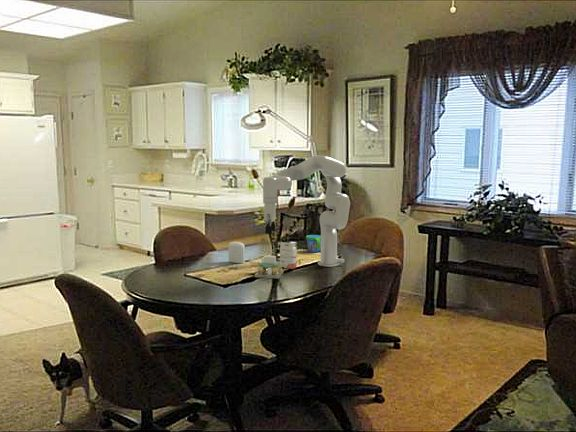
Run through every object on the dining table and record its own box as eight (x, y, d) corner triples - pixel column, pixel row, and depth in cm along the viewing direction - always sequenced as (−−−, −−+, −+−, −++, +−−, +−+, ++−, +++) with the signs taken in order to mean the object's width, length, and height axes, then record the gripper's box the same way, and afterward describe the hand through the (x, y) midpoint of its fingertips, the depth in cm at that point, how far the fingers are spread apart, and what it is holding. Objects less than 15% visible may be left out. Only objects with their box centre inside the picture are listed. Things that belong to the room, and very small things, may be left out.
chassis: (260, 270, 312) (260, 258, 311) (283, 272, 310) (283, 259, 309) (255, 277, 298) (255, 264, 297) (279, 278, 296) (279, 265, 295)
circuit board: (263, 261, 310) (263, 253, 309) (280, 262, 308) (280, 254, 307) (258, 266, 298) (258, 258, 297) (276, 267, 296) (276, 259, 296)
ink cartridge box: (296, 267, 321) (297, 242, 319) (292, 269, 317) (293, 243, 315) (283, 265, 325) (283, 240, 323) (279, 267, 321) (279, 242, 319)
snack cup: (302, 249, 373) (303, 234, 371) (318, 248, 375) (318, 233, 374) (309, 254, 358) (309, 238, 356) (325, 253, 360) (325, 237, 359)
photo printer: (227, 262, 333) (227, 241, 331) (231, 260, 337) (231, 240, 335) (241, 264, 328) (241, 243, 326) (245, 262, 332) (245, 242, 330)
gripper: (266, 198, 307) (266, 229, 310) (259, 202, 290) (260, 234, 293) (280, 198, 306) (280, 229, 309) (274, 202, 289) (274, 235, 292)
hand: (270, 232), depth 301 cm, fingers open, 9 cm apart
